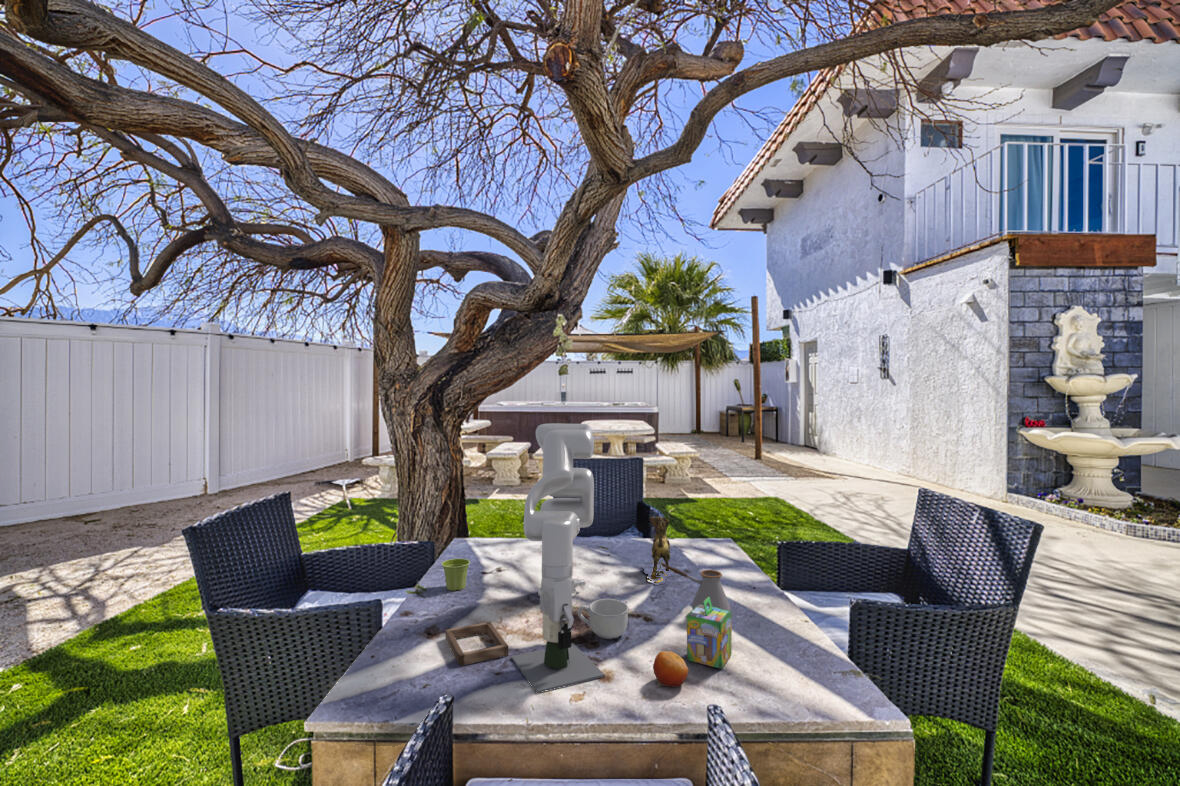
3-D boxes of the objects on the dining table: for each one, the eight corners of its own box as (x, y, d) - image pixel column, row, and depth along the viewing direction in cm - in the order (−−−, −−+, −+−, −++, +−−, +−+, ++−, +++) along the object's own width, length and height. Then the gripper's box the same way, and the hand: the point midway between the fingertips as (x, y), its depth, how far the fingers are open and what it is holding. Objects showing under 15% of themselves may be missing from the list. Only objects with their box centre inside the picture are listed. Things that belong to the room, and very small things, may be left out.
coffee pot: (729, 610, 173) (729, 561, 173) (731, 625, 162) (731, 573, 162) (660, 604, 177) (660, 557, 177) (657, 619, 166) (657, 568, 166)
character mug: (560, 678, 130) (561, 622, 130) (533, 672, 133) (534, 617, 133) (578, 657, 140) (579, 606, 140) (553, 652, 143) (553, 601, 143)
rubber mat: (573, 645, 149) (573, 643, 149) (604, 676, 132) (604, 674, 132) (511, 658, 141) (511, 656, 141) (536, 693, 125) (536, 691, 125)
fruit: (642, 669, 133) (659, 640, 134) (670, 685, 134) (687, 656, 134) (648, 687, 125) (667, 656, 126) (678, 704, 126) (696, 673, 126)
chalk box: (721, 670, 136) (721, 609, 136) (685, 660, 141) (686, 601, 141) (733, 655, 144) (733, 597, 144) (699, 646, 149) (699, 590, 148)
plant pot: (435, 590, 188) (435, 564, 188) (452, 581, 197) (452, 557, 197) (459, 594, 185) (459, 568, 185) (475, 585, 193) (475, 560, 193)
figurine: (675, 564, 218) (675, 512, 218) (674, 586, 193) (675, 528, 193) (642, 562, 220) (642, 511, 220) (637, 584, 195) (637, 526, 195)
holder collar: (490, 630, 157) (490, 621, 157) (508, 655, 143) (508, 645, 143) (445, 638, 152) (445, 629, 152) (459, 666, 137) (459, 655, 137)
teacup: (632, 629, 159) (632, 601, 159) (621, 646, 148) (622, 615, 148) (586, 622, 163) (586, 595, 163) (572, 638, 153) (572, 608, 153)
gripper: (530, 561, 143) (530, 628, 143) (556, 583, 127) (556, 658, 127) (557, 558, 146) (557, 623, 146) (586, 578, 130) (585, 651, 131)
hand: (556, 639), depth 137 cm, fingers open, 9 cm apart
